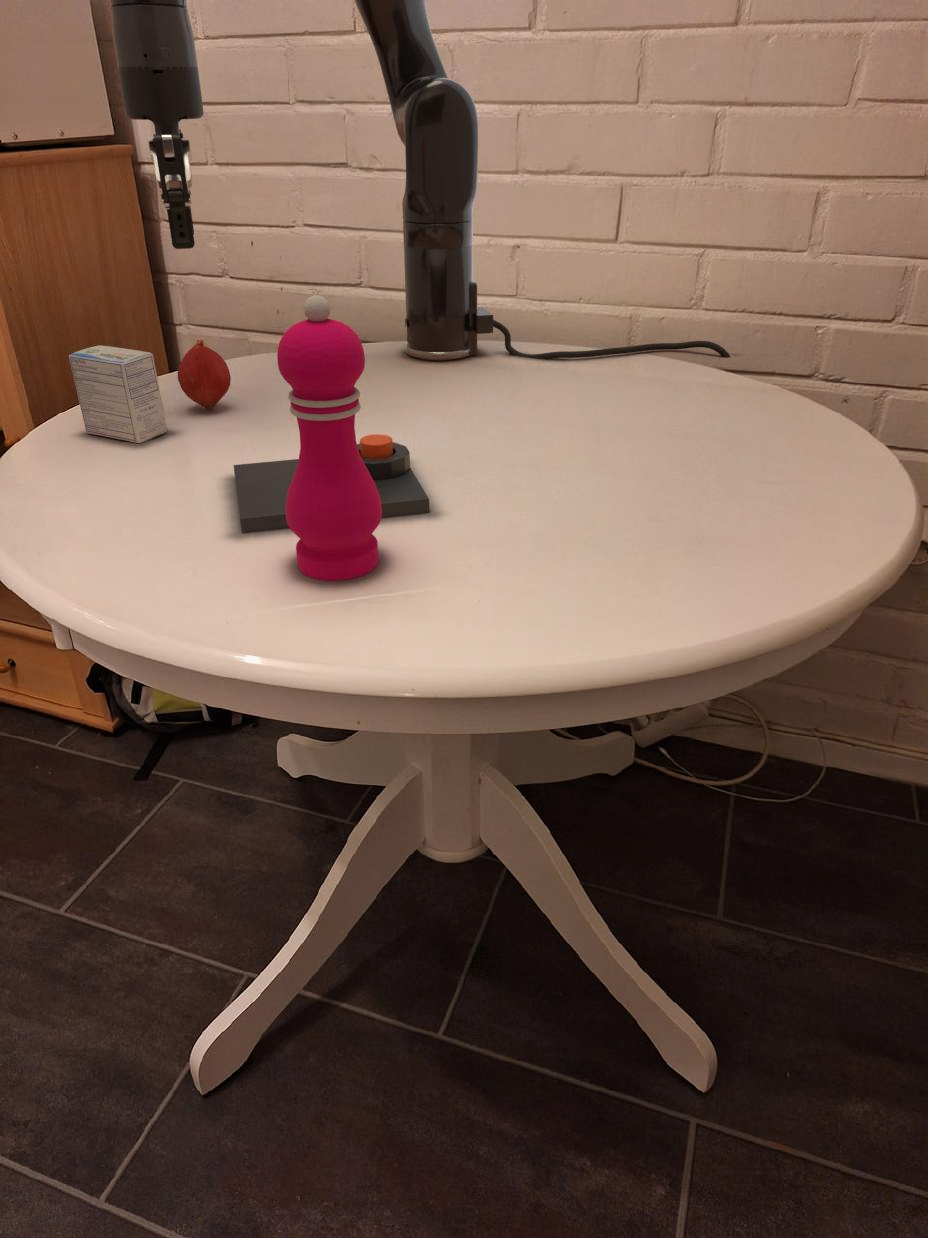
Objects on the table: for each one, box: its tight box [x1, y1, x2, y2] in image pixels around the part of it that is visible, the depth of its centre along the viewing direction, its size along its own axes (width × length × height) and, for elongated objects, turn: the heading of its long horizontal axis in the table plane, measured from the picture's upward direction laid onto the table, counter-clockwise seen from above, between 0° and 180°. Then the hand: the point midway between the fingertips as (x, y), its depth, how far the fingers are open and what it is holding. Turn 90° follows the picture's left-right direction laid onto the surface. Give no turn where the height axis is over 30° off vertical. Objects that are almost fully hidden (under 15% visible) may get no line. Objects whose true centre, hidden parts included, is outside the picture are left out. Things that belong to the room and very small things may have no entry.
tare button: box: [359, 433, 394, 459], centre depth 84 cm, size 3×3×2 cm
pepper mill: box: [276, 294, 383, 582], centre depth 66 cm, size 7×7×20 cm
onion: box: [177, 338, 232, 410], centre depth 104 cm, size 6×6×8 cm
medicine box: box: [68, 344, 168, 444], centre depth 96 cm, size 8×4×9 cm, turn 62°
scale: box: [233, 441, 430, 534], centre depth 82 cm, size 16×13×3 cm
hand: (184, 242), depth 97 cm, fingers open, 8 cm apart
